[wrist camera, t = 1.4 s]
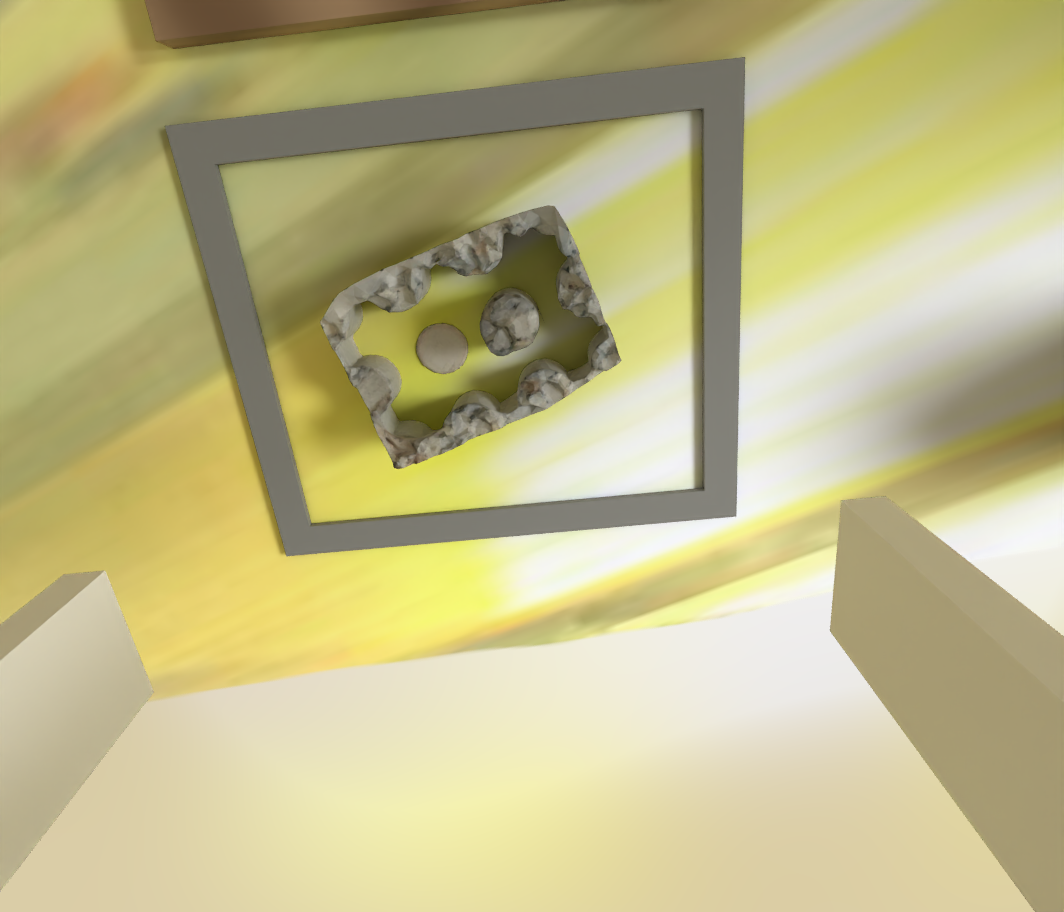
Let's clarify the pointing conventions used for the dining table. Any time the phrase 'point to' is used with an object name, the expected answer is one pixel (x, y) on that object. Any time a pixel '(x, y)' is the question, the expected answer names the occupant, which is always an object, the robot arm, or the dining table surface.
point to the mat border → (460, 116)
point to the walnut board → (291, 16)
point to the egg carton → (446, 348)
